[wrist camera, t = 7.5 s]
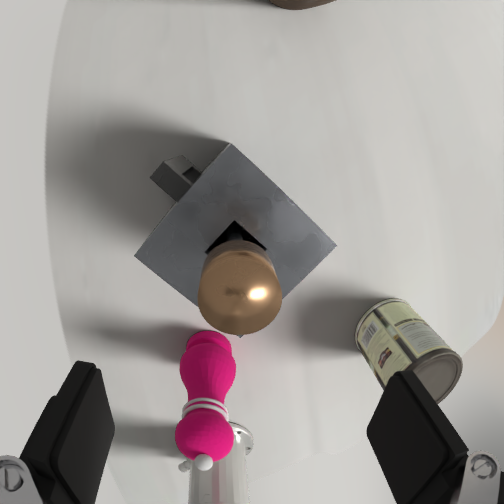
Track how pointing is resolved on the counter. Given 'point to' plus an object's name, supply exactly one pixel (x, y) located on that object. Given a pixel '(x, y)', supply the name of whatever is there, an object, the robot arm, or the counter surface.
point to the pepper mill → (206, 399)
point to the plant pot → (299, 3)
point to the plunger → (238, 284)
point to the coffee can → (407, 348)
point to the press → (228, 222)
